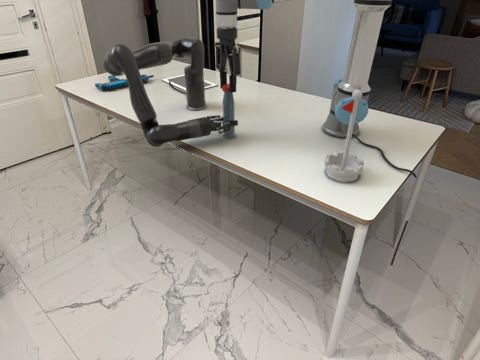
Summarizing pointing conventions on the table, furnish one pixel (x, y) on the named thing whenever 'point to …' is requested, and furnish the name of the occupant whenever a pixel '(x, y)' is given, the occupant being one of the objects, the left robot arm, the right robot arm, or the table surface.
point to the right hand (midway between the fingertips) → (228, 90)
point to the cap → (225, 87)
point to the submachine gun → (118, 82)
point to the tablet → (180, 82)
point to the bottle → (228, 113)
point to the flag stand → (346, 151)
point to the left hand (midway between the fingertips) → (234, 120)
